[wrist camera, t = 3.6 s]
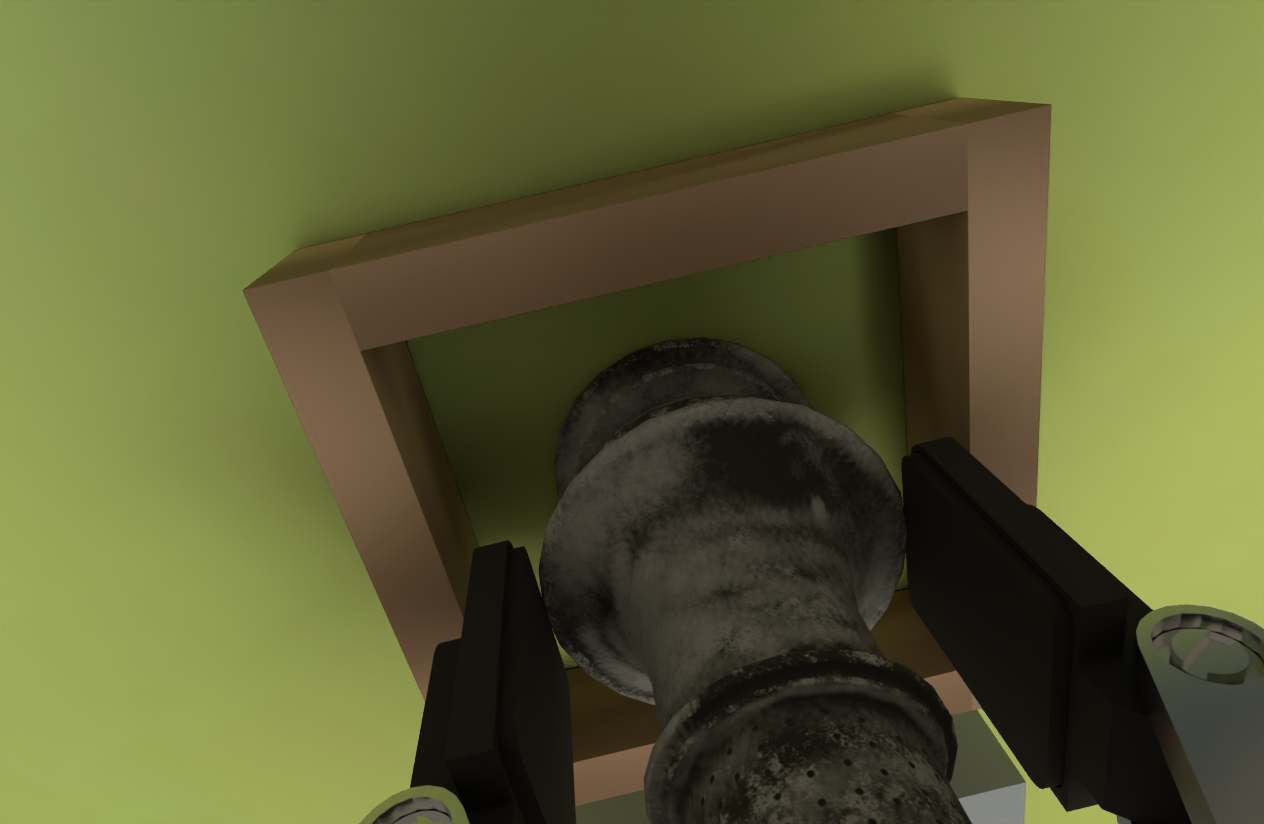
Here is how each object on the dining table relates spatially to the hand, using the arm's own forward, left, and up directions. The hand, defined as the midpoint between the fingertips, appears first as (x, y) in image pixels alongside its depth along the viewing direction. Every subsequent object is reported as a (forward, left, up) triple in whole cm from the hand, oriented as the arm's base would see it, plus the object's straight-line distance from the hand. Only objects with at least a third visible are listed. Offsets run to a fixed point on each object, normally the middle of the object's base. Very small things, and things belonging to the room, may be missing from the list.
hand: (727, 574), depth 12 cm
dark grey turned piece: (0, 0, -4) cm, 4 cm away
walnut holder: (0, 0, -4) cm, 4 cm away
